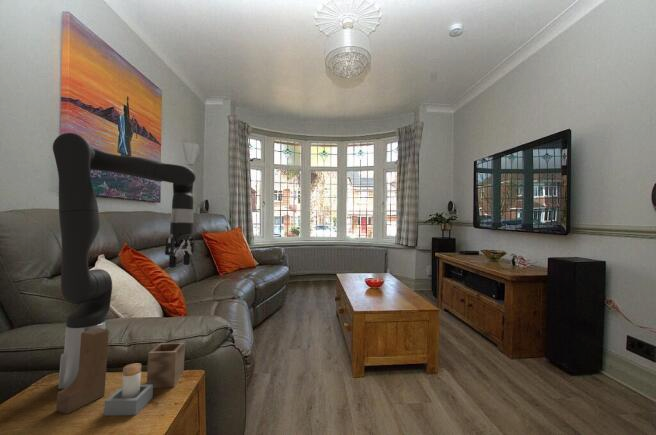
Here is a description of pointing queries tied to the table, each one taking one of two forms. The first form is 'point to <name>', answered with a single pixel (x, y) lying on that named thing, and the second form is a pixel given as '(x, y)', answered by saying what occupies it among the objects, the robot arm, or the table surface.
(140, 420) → the table surface
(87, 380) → the wooden block
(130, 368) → the white and tan cylinder
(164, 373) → the socket tower
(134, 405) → the low socket
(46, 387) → the table surface
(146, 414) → the table surface
